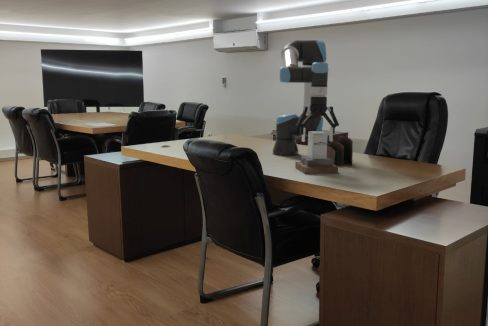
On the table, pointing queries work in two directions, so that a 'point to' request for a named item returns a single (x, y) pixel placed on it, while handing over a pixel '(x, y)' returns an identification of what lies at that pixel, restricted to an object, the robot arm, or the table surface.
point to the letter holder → (341, 151)
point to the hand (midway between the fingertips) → (317, 141)
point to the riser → (316, 166)
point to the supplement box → (317, 144)
